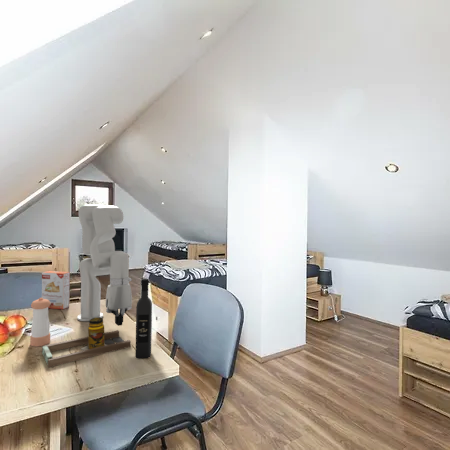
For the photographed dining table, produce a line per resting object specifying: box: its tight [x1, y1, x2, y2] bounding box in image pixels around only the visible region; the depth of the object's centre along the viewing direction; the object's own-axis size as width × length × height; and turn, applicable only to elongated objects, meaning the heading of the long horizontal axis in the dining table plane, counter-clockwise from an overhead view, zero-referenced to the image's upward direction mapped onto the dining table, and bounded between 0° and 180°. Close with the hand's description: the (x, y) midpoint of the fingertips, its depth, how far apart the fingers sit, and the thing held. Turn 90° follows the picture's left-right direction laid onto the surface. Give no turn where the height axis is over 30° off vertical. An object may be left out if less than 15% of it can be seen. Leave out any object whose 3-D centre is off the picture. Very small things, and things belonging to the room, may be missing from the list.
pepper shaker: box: [29, 297, 51, 347], centre depth 130 cm, size 7×7×19 cm
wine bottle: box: [134, 278, 153, 359], centre depth 121 cm, size 6×6×30 cm
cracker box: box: [41, 270, 71, 310], centre depth 180 cm, size 14×6×21 cm, turn 81°
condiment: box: [80, 317, 106, 351], centre depth 127 cm, size 7×8×12 cm
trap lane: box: [41, 329, 132, 368], centre depth 125 cm, size 15×30×3 cm, turn 129°
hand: (119, 324), depth 132 cm, fingers closed
